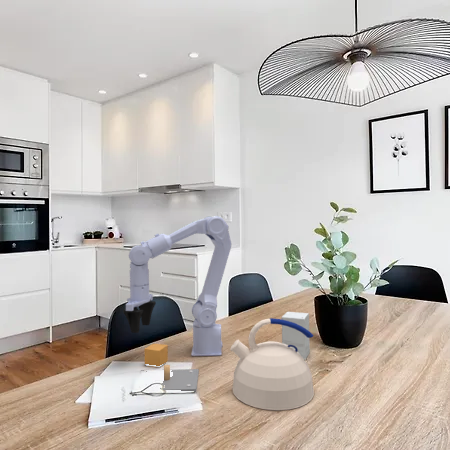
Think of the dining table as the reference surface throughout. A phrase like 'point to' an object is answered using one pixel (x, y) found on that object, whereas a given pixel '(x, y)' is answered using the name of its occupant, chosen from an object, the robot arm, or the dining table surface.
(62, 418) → the dining table surface
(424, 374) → the dining table surface
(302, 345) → the supplement box
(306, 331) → the kettle
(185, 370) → the plate
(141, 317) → the robot arm
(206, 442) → the dining table surface
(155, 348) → the orange cube
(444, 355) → the dining table surface
